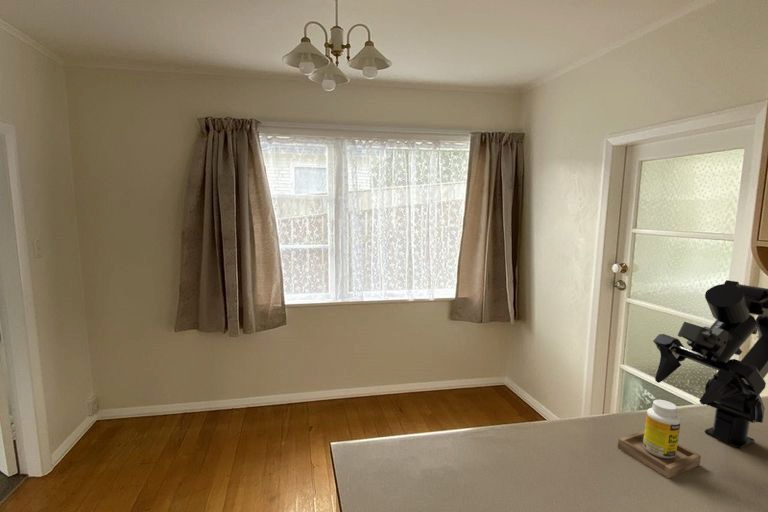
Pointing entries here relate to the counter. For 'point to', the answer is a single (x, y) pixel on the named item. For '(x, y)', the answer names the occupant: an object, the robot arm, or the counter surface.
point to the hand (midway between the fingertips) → (677, 391)
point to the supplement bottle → (662, 429)
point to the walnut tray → (666, 467)
